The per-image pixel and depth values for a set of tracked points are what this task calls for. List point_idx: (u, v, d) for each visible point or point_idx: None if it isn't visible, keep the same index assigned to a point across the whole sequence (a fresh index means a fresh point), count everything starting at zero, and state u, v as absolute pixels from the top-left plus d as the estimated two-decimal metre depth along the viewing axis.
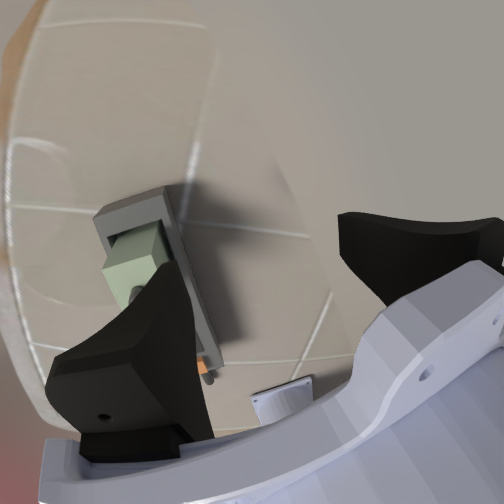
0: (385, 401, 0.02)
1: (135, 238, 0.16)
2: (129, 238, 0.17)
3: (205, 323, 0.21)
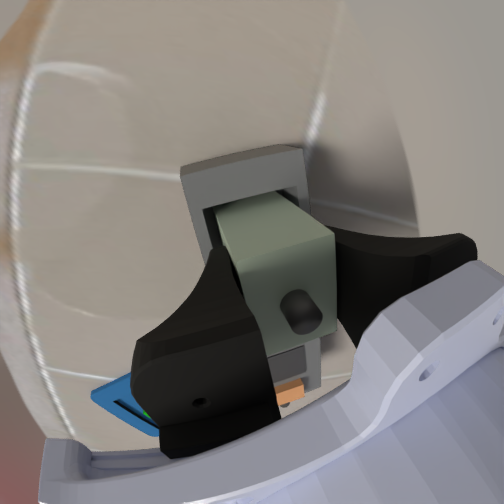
0: (385, 401, 0.02)
1: (259, 212, 0.11)
2: (245, 212, 0.11)
3: None
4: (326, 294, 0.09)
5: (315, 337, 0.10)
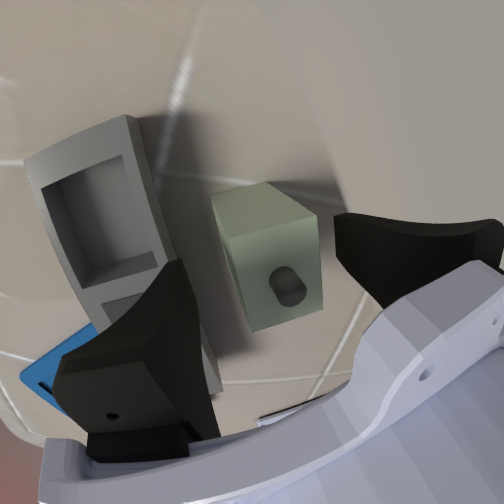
0: (385, 401, 0.02)
1: (252, 200, 0.12)
2: (239, 201, 0.12)
3: None
4: (311, 272, 0.10)
5: (303, 314, 0.11)
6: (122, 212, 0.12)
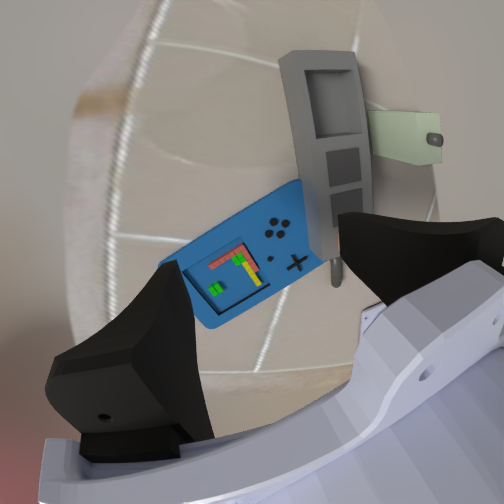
0: (385, 401, 0.02)
1: None
2: None
3: (371, 183, 0.20)
4: None
5: (435, 162, 0.17)
6: (331, 105, 0.18)
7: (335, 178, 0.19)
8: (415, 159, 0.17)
